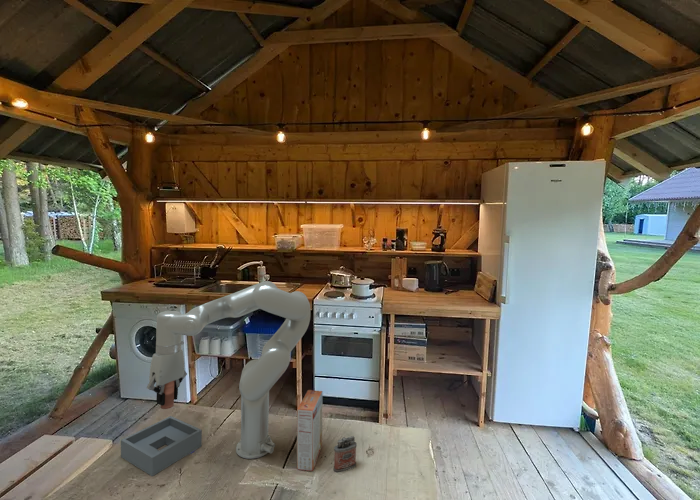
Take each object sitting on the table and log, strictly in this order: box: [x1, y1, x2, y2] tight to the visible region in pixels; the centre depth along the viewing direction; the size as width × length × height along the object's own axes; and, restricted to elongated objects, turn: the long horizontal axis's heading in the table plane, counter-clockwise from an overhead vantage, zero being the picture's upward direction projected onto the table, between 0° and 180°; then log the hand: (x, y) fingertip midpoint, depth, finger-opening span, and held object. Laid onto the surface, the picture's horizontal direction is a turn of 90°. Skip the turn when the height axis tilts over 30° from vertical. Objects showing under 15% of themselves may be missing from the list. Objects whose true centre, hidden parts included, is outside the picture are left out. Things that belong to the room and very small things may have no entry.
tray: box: [120, 415, 203, 477], centre depth 119 cm, size 18×18×6 cm
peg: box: [159, 381, 175, 410], centre depth 115 cm, size 4×4×10 cm
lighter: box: [333, 435, 357, 474], centre depth 114 cm, size 8×3×10 cm, turn 117°
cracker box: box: [296, 389, 323, 472], centre depth 118 cm, size 14×6×21 cm, turn 172°
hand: (167, 400), depth 116 cm, fingers closed on peg, 4 cm apart
